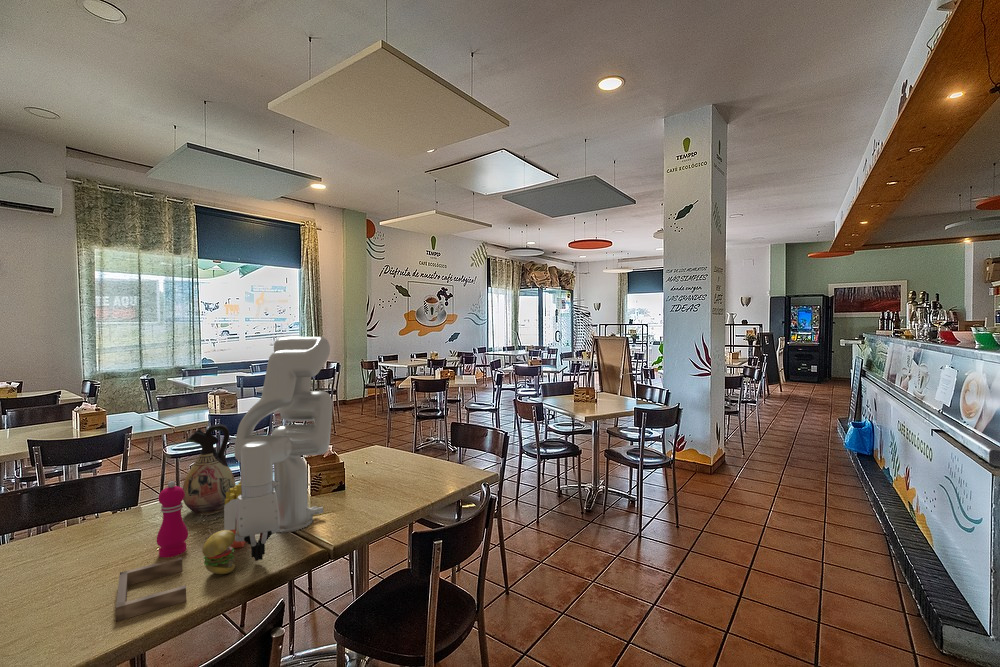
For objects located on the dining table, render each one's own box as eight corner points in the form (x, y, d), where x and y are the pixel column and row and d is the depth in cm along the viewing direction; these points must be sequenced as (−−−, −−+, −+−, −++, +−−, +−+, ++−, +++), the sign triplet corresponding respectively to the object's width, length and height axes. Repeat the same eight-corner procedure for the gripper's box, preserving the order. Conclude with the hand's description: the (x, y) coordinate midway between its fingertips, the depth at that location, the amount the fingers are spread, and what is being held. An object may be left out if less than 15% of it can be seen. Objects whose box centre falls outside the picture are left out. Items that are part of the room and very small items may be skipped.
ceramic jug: (176, 524, 150) (174, 430, 149) (188, 507, 164) (187, 421, 164) (237, 516, 156) (235, 426, 156) (244, 500, 170) (242, 417, 170)
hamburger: (240, 573, 120) (239, 526, 120) (208, 585, 115) (207, 536, 114) (229, 563, 125) (228, 518, 125) (198, 574, 120) (197, 527, 120)
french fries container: (222, 554, 130) (221, 489, 130) (231, 537, 141) (230, 477, 140) (241, 551, 132) (240, 487, 132) (248, 535, 142) (247, 475, 142)
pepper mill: (172, 560, 127) (170, 486, 127) (150, 557, 129) (148, 484, 128) (194, 547, 134) (193, 477, 134) (173, 545, 136) (172, 476, 135)
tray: (181, 568, 123) (181, 557, 123) (186, 600, 108) (186, 587, 108) (120, 584, 115) (119, 572, 115) (116, 621, 101) (115, 607, 101)
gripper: (284, 480, 132) (285, 545, 132) (222, 491, 123) (223, 561, 124) (290, 487, 126) (291, 555, 126) (226, 499, 117) (227, 573, 117)
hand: (258, 558), depth 125 cm, fingers closed
